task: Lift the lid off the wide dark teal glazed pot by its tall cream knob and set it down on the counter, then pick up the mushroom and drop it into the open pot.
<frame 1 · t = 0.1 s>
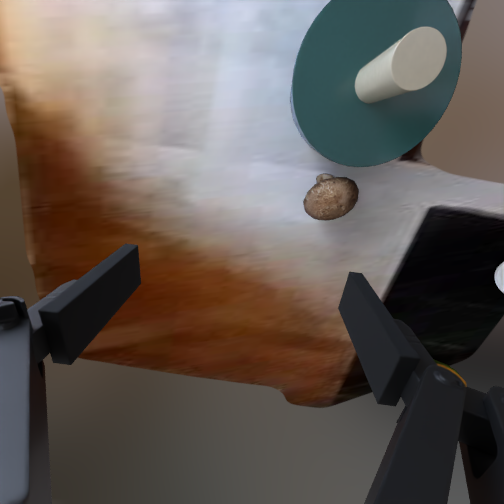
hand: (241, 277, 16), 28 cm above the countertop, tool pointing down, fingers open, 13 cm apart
lid: (371, 83, 28), point 8 cm above the countertop, touching pot
mushroom: (326, 194, 41), on the countertop
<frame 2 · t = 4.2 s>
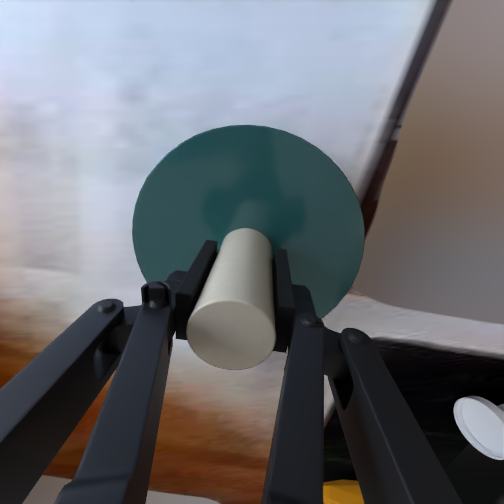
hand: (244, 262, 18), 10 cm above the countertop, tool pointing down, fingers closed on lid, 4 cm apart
spread jar: (491, 406, 37), on the countertop
lid: (246, 249, 20), point 8 cm above the countertop, touching gripper, pot
corn: (362, 480, 47), on the countertop
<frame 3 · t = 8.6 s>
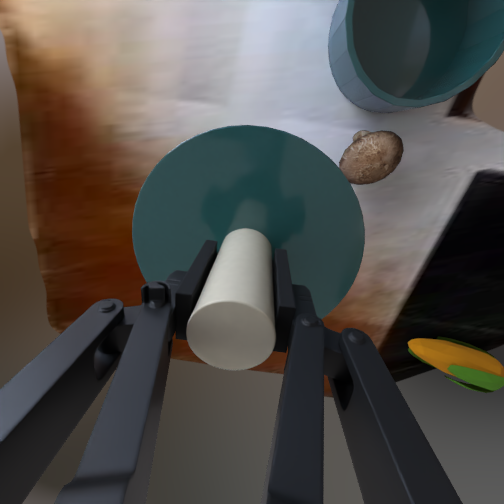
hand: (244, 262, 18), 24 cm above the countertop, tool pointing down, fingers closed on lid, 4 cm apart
pot: (396, 36, 31), on the countertop
lid: (246, 249, 20), point 22 cm above the countertop, touching gripper
mushroom: (362, 157, 37), on the countertop
corn: (441, 346, 51), on the countertop
when the fingers open (3 cm above the countertop, at t = 13.5 s): lid stays where it is, point 1 cm above the countertop.
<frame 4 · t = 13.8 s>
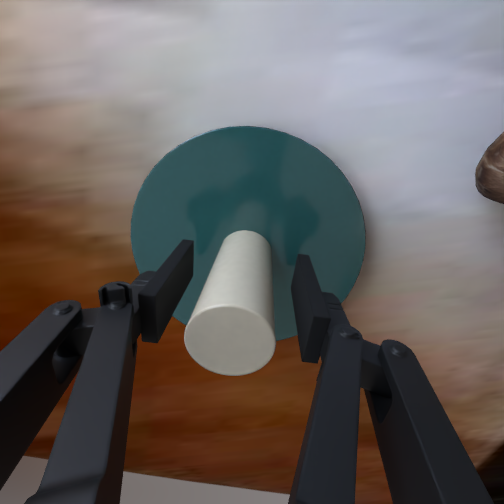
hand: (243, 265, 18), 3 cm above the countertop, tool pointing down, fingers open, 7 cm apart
lid: (246, 251, 20), point 1 cm above the countertop
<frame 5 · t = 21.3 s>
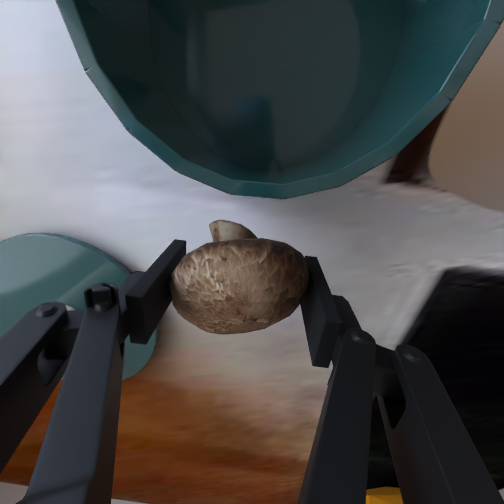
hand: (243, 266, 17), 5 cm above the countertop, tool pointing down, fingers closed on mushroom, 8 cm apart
pot: (272, 40, 16), on the countertop
lid: (70, 316, 25), point 1 cm above the countertop
mushroom: (244, 261, 18), point 4 cm above the countertop, touching gripper
corn: (409, 488, 35), on the countertop
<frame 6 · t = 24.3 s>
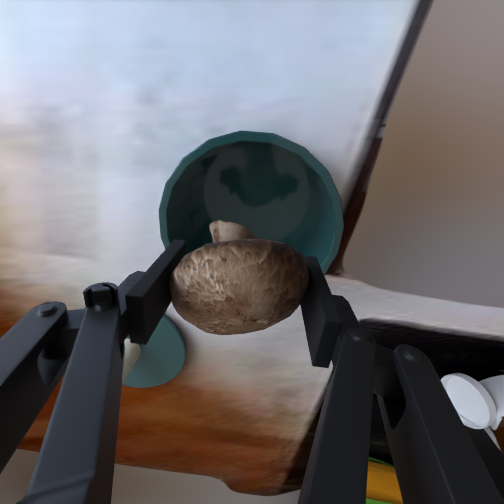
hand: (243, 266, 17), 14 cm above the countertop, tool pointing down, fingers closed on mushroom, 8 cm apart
spread jar: (474, 384, 40), on the countertop
pot: (253, 209, 30), on the countertop
lid: (130, 345, 40), point 1 cm above the countertop
mushroom: (244, 261, 18), point 14 cm above the countertop, touching gripper
corn: (356, 457, 50), on the countertop
when the fingers open (4 cm above the countertop, at t = 27.3 s): mushroom drops 3 cm, resting on pot.
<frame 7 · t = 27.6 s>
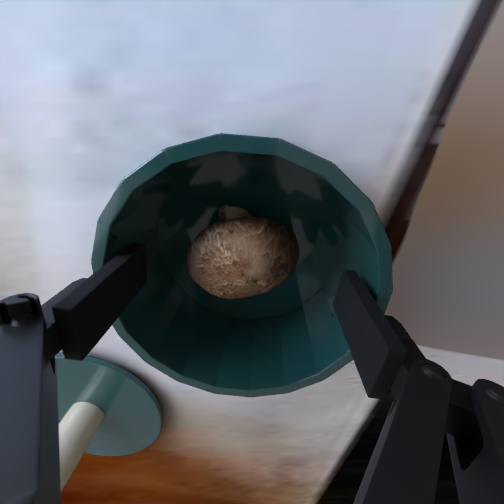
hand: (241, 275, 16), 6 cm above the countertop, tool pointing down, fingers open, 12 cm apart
pot: (248, 242, 22), on the countertop
lid: (91, 407, 31), point 1 cm above the countertop
mushroom: (246, 241, 21), resting on pot
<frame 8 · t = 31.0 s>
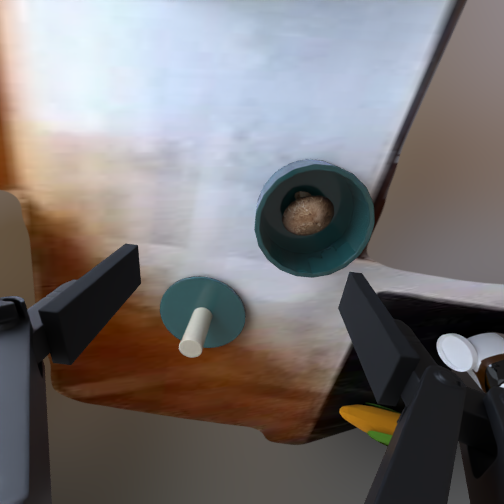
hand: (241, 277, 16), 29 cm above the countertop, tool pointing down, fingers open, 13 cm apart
spread jar: (463, 343, 53), on the countertop
pot: (305, 210, 43), on the countertop
lid: (203, 313, 52), point 1 cm above the countertop
mushroom: (305, 210, 43), resting on pot
corn: (371, 408, 63), on the countertop
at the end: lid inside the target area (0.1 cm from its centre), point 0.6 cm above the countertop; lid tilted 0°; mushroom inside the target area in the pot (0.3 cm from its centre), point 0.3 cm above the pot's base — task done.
